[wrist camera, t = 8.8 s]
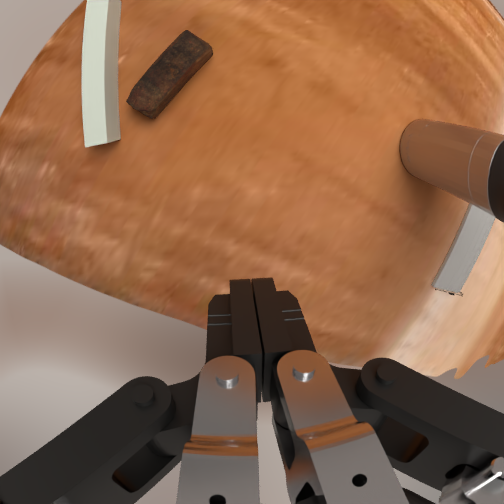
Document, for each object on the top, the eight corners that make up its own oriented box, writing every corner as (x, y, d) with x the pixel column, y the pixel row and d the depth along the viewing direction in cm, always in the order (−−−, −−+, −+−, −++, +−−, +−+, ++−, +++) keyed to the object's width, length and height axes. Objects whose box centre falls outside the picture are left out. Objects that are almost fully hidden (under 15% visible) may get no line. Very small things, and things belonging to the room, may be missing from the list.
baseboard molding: (513, 163, 37) (487, 136, 34) (523, 167, 34) (498, 139, 32) (460, 291, 49) (428, 283, 47) (467, 298, 47) (436, 291, 44)
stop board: (121, 1, 22) (110, -10, 18) (120, 139, 31) (107, 143, 27) (101, 7, 22) (87, -3, 18) (100, 142, 31) (85, 147, 27)
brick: (190, 37, 26) (185, 27, 22) (214, 55, 28) (212, 46, 24) (133, 101, 29) (121, 100, 25) (156, 119, 31) (146, 120, 27)
